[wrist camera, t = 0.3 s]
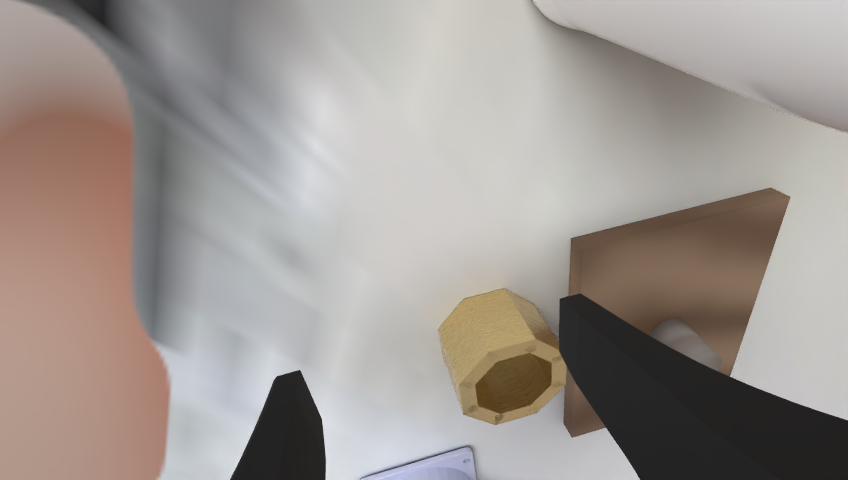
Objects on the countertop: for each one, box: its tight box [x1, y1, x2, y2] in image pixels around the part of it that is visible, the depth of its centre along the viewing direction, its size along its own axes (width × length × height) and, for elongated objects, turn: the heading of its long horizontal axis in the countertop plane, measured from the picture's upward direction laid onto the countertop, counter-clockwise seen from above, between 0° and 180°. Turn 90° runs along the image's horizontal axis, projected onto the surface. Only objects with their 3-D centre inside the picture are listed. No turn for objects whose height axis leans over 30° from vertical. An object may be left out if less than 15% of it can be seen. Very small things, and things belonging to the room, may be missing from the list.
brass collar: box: [439, 289, 566, 425], centre depth 24 cm, size 6×6×4 cm
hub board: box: [564, 188, 790, 438], centre depth 27 cm, size 16×12×4 cm
